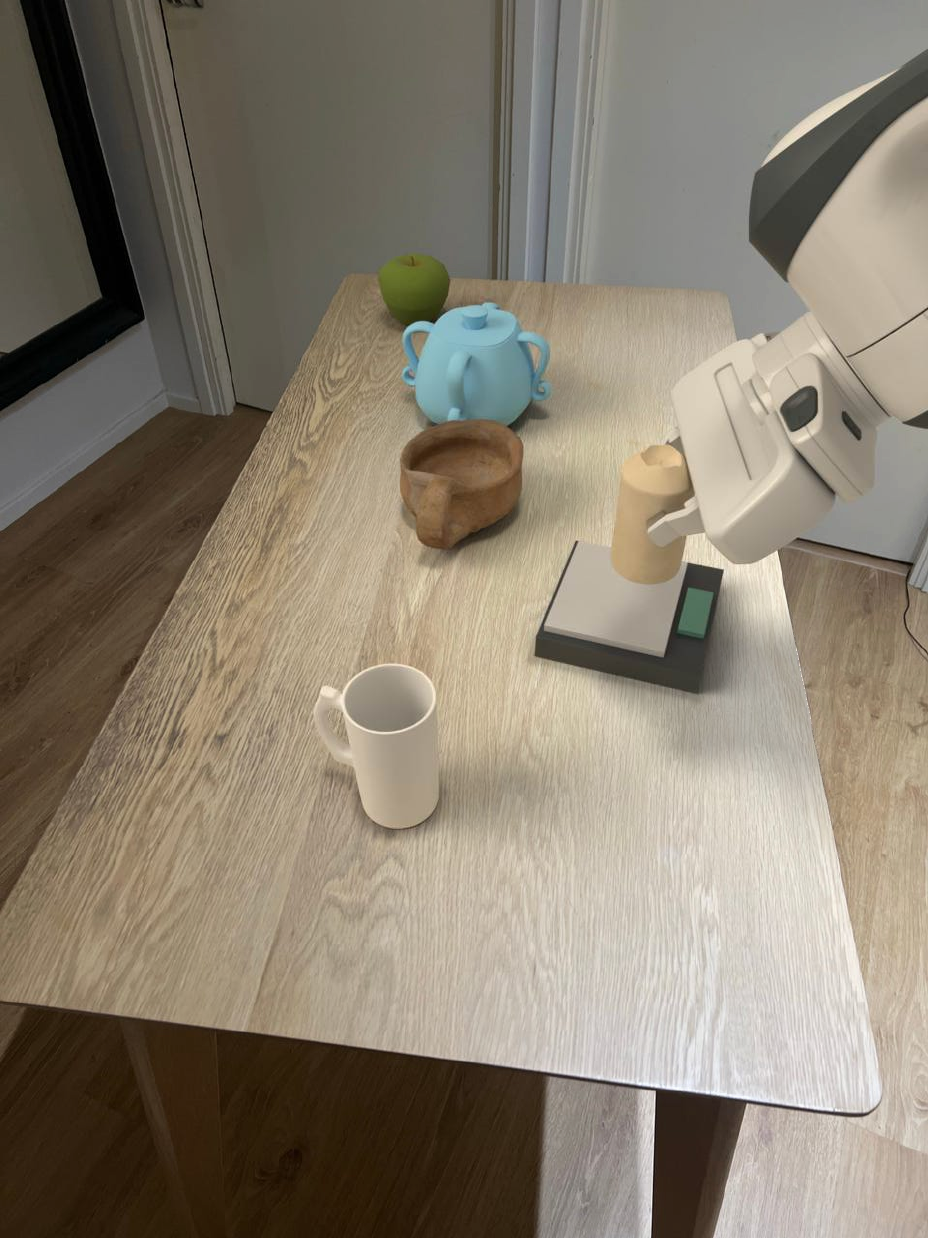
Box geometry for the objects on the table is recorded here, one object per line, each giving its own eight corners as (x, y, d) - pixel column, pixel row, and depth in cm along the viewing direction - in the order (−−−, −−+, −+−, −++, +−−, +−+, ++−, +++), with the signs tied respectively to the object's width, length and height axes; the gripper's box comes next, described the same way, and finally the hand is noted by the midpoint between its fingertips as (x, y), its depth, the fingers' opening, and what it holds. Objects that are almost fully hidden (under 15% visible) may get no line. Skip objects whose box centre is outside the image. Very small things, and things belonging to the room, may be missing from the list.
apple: (441, 340, 130) (438, 273, 123) (372, 334, 132) (366, 267, 125) (458, 309, 137) (457, 244, 130) (393, 303, 139) (388, 239, 132)
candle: (681, 588, 68) (703, 479, 61) (609, 582, 68) (623, 473, 62) (679, 544, 72) (700, 436, 65) (610, 538, 72) (624, 432, 66)
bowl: (537, 564, 90) (511, 485, 83) (407, 589, 93) (373, 515, 87) (537, 464, 103) (515, 389, 96) (423, 490, 106) (394, 419, 100)
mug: (455, 776, 73) (450, 677, 64) (422, 843, 68) (413, 745, 60) (345, 743, 75) (328, 643, 67) (307, 805, 71) (283, 706, 63)
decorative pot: (560, 427, 112) (567, 324, 102) (442, 456, 107) (438, 351, 98) (506, 370, 123) (508, 273, 113) (396, 394, 118) (389, 295, 109)
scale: (719, 588, 89) (725, 562, 87) (697, 694, 79) (703, 668, 76) (574, 558, 93) (576, 533, 91) (534, 656, 83) (535, 630, 80)
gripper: (754, 293, 66) (608, 410, 73) (825, 442, 51) (633, 571, 58) (800, 350, 68) (656, 457, 76) (880, 507, 54) (691, 622, 61)
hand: (646, 508), depth 67 cm, fingers closed on candle, 5 cm apart
